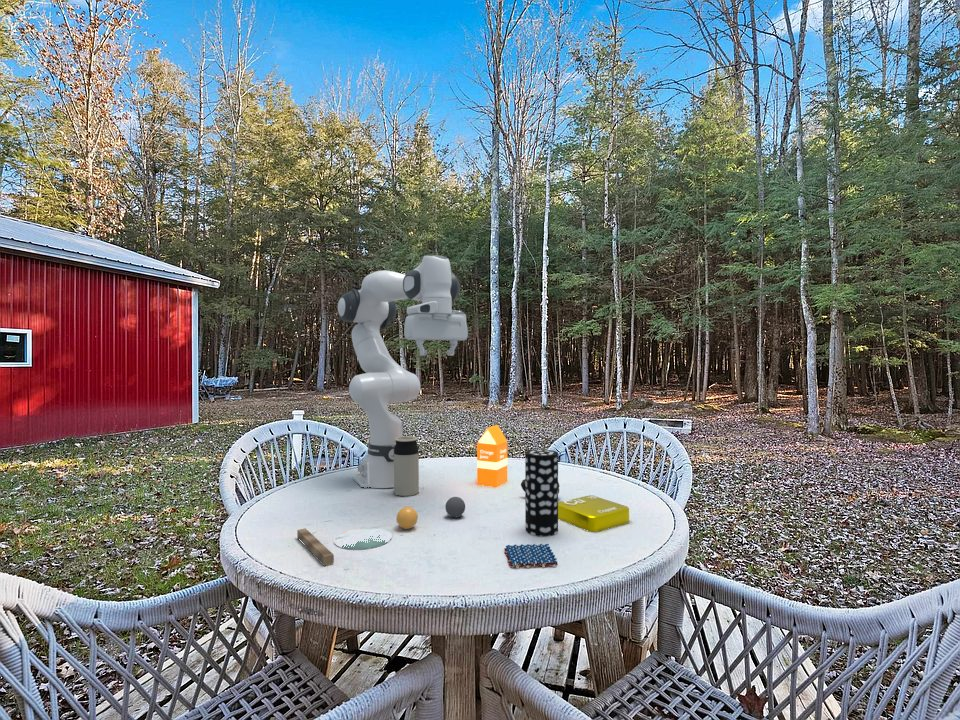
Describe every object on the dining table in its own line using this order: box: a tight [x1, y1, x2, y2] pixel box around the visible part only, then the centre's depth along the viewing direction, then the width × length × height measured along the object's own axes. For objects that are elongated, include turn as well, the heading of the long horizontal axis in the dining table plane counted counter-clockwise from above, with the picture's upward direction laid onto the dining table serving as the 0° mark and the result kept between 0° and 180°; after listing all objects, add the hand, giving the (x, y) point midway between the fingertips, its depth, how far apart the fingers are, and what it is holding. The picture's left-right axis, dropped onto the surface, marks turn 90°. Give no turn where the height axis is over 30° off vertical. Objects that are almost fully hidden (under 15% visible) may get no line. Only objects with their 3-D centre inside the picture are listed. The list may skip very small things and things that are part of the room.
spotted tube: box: [524, 448, 559, 537], centre depth 126 cm, size 8×8×20 cm
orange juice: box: [476, 424, 508, 488], centre depth 172 cm, size 8×9×20 cm
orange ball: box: [396, 506, 419, 530], centre depth 128 cm, size 6×6×6 cm
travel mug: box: [393, 435, 420, 497], centre depth 160 cm, size 8×8×18 cm
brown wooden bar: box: [296, 528, 335, 567], centre depth 114 cm, size 20×2×2 cm, turn 36°
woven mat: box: [503, 543, 558, 570], centre depth 109 cm, size 10×11×2 cm
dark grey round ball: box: [445, 496, 466, 518], centre depth 137 cm, size 6×6×6 cm
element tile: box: [558, 494, 630, 533], centre depth 135 cm, size 15×15×5 cm
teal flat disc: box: [341, 535, 388, 550], centre depth 121 cm, size 14×14×1 cm
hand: (437, 355), depth 146 cm, fingers open, 8 cm apart
